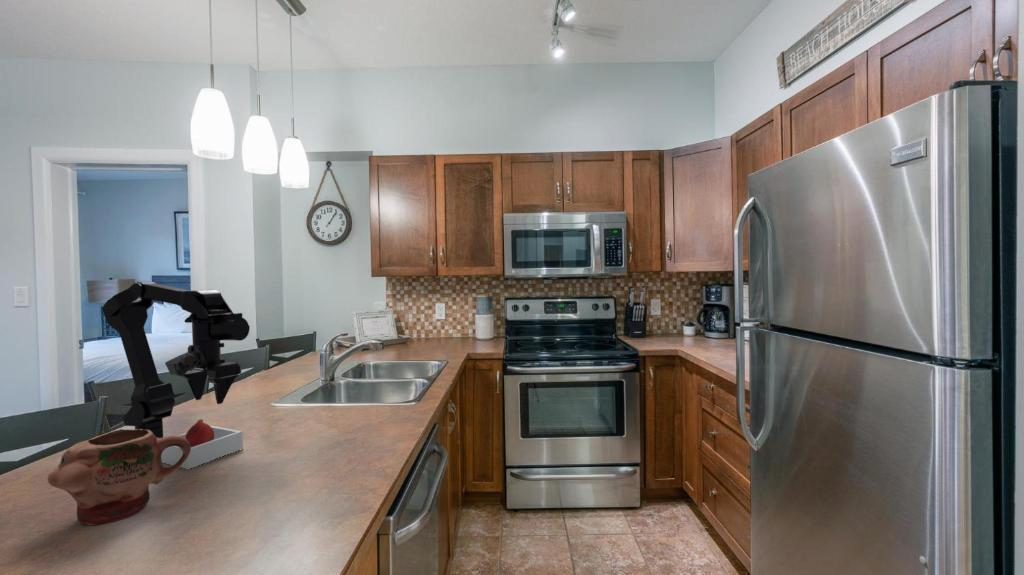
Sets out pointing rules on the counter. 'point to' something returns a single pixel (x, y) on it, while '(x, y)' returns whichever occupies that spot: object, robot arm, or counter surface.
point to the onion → (199, 433)
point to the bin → (206, 448)
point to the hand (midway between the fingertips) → (208, 401)
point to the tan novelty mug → (115, 473)
